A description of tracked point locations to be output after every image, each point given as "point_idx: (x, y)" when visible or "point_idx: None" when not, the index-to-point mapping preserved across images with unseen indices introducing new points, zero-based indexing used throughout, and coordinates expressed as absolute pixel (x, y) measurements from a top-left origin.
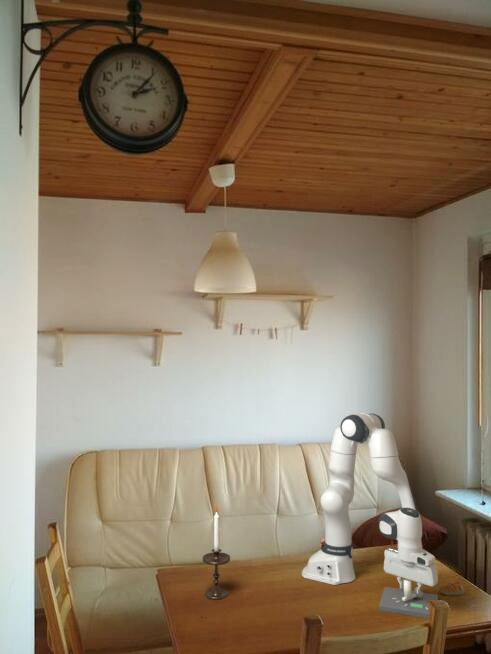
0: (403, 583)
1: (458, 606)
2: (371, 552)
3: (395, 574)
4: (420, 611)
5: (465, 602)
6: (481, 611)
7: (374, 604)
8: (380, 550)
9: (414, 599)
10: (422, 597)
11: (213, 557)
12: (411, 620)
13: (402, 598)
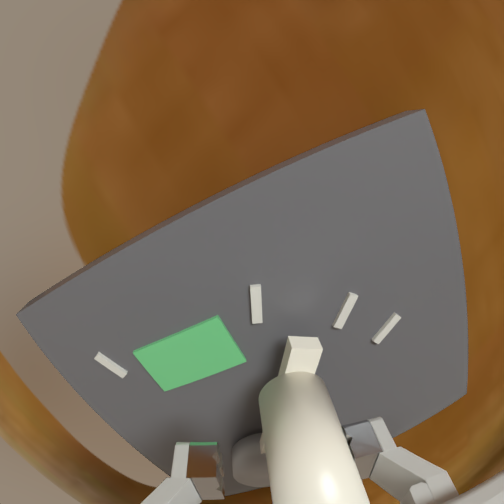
0: (367, 472)
1: (101, 471)
2: None
3: (484, 495)
4: (103, 292)
5: (117, 497)
6: (39, 466)
7: (462, 182)
8: None
9: None
10: (232, 454)
11: None
12: (113, 149)
13: (316, 345)
